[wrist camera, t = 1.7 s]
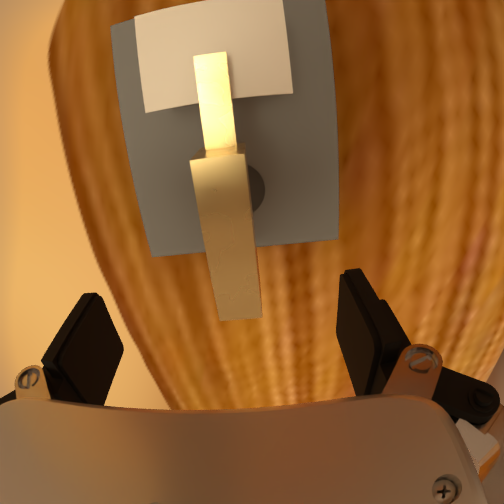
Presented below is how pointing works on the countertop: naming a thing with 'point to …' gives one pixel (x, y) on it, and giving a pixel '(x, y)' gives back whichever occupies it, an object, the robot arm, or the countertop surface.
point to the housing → (247, 130)
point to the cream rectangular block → (212, 49)
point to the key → (225, 196)
